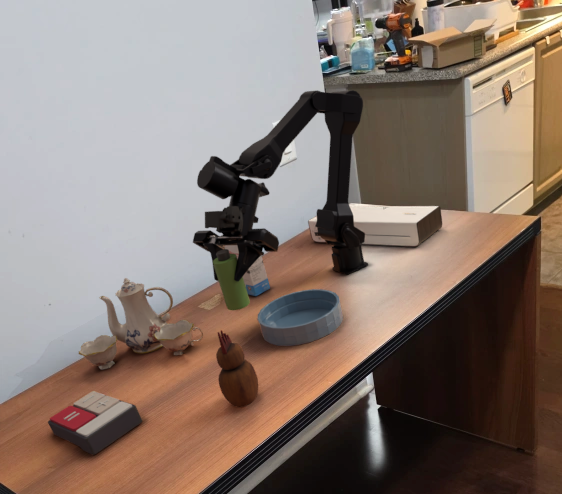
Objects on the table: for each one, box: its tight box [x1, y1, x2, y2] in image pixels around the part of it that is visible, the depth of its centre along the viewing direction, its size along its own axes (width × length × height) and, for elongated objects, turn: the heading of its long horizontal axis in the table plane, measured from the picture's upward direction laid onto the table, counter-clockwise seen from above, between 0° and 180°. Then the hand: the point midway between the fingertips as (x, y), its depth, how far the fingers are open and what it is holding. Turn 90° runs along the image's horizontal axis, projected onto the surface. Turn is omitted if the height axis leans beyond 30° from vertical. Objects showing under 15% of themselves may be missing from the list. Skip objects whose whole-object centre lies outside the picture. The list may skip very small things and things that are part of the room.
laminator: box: [307, 205, 443, 248], centre depth 169 cm, size 34×12×6 cm, turn 49°
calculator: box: [47, 390, 143, 456], centre depth 119 cm, size 11×4×15 cm
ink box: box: [220, 234, 271, 297], centre depth 156 cm, size 8×5×15 cm, turn 39°
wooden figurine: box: [215, 329, 259, 408], centre depth 112 cm, size 7×6×15 cm
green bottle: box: [212, 249, 251, 311], centre depth 134 cm, size 5×5×12 cm
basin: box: [256, 288, 344, 347], centre depth 134 cm, size 17×17×4 cm
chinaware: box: [78, 277, 204, 370], centre depth 140 cm, size 28×17×17 cm, turn 91°
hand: (226, 280), depth 133 cm, fingers closed on green bottle, 5 cm apart
